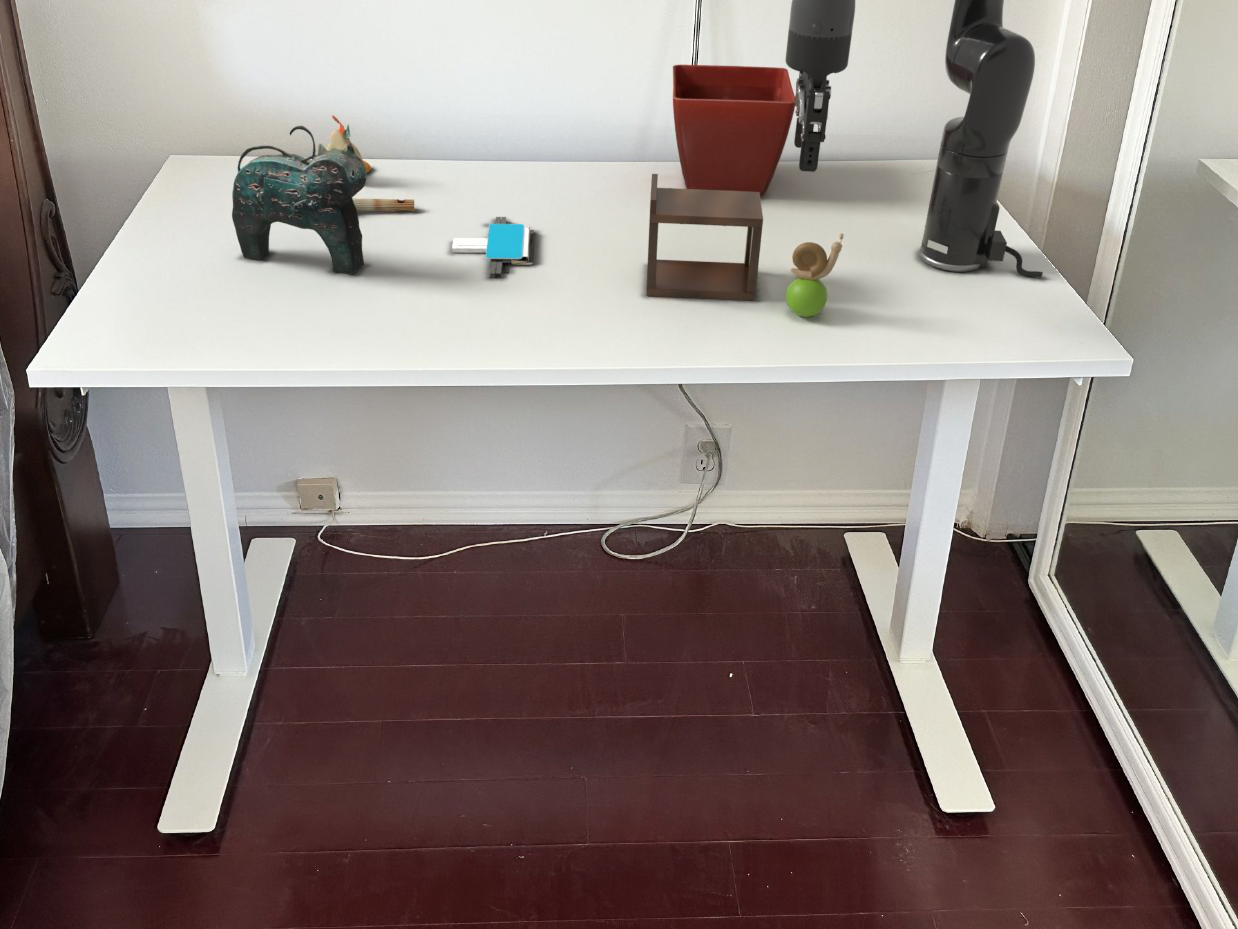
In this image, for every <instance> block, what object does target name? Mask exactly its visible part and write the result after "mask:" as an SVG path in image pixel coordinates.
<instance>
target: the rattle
mask: <svg viewBox="0 0 1238 929" xmlns="http://www.w3.org/2000/svg"><path fill="white" fill-rule="evenodd" d="M331 118H332V119H333V121H335V123H337V124H339V128H337V129H335V130H334V131H332V132H331V134H330V142H329V143H328V145H327V146H326V148H325V149H326V150H327V151H333V150H343V149H344V148H345V147H346V146H347V145H348V144H349V143H351V145H352V146H353V148H354V151H355V153H356V155H357V156H358V157H359V158H360V159H361V160H362V161H363V163H364V165H365V167H366V174H367V173H369V172H370V171H371V170H372V166H371V165H370V163H369V162H367V161H366V160H363V157H362V154H361V152H360V151H359V149H358V148H357V147H356V145H355V144H353V143H352V141H351V139H350V138H351V130H350V125H349V123H346V129H345V126H344V125H343V124H342V122H340V120H338V118H337V116H335V115H331Z"/></svg>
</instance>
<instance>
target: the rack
mask: <svg viewBox="0 0 1238 929" xmlns="http://www.w3.org/2000/svg"><path fill="white" fill-rule="evenodd" d="M658 176H659V174H658V173H651V186H650V198H649V199H650V200H649V202H650V203H649V220H648V221H649V222H648V224H649V226H648V242H647V243H648V246H647V266H646V267H647V271H646V272H647V274H646V289H645V290H646V293H645V295H646V297H662V298H683V299H684V298H685V299H687V298H688V299H710V300H731V301H752V302H753V301H756V293H757V284H758V274H759V263H760V255H761V254H760V253H761V244H762V236H763V225H764V216H763V208H762V201H761V196H760V193H759V192H748V191H724V190H700V189H686V188H674V187H658V179H659V178H658ZM659 224H673V225H694V226H695V225H696V226H697V225H698V226H719V227H720V226H721V227H743V228H744V227H745V228H747V229H746V238H745V249H744V261H743V262H724V261H721V262H720V261H702V260H701V261H700V260H681V259H679V260H677V259H658V242H659V241H658V238H659Z"/></svg>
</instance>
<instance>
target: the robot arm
mask: <svg viewBox="0 0 1238 929" xmlns="http://www.w3.org/2000/svg"><path fill="white" fill-rule="evenodd" d="M1004 4H1005V0H954V3H953V8H952V13H951V14H952V15H951V19H950V24H949V29H948V35H947V41H946V47H945V56H944V65H945V66H944V67H945V71H946V75H947V78H948V80H949V81H950V82H951V83H952V84H953V85H954V86H955V87H956V88H958V89H959V90H961V91H963V92H965V93H967V94H969V99H968V102H967V106H966V109H965V113H964V116H959V117H953V118H951V119H950V120H948V121H946V123H945V124H944V127H943V131H942V134H941V140H940V145H939V150H938V154H937V155H938V156H937V161H936V165H935V170H934V171H935V172H934V177H933V182H932V188H931V193H930V199H929V204H928V207H927V208H928V209H927V213H926V214H927V215H926V220H925V224H924V229H923V234H922V235H923V236H922V239H921V245H920V248H919V254H918V255H919V258H920V260H921V261H922V262H923V263H925V264H927V265H929V266H931V267H934V268H936V269H938V270H939V269H940V270H943V271H949V272H958V273H959V272H961V273H962V272H972V271H975V270H978V269H987V267H988V262H1003V261H1004V258H1005V254H1006V253H1008V254H1009V255H1012V256H1013V257H1014V259H1015V260H1016V263H1015V269H1016V271H1017V273H1018V274H1019V275H1021V276H1023V277H1027V278H1043V274H1044V272H1043V271H1039V270H1037V271H1036V270H1035V271H1033V270H1026V269H1024V268H1023V257H1022V255H1021V254H1020V253H1019V251H1017V250H1016V249H1014V248H1013V247H1010V246H1009V245H1008V242H1007V240H1006V238H1005V236H1004V235H1003V233H1002V231H1001V230H996V226H997V223H998V217H999V214H1000V210H1001V209H1000V208H1001V207H1000V205H999V204H998V198H999V193H1000V188H1001V183H1002V179H1003V174H1004V172H1005V171H1004V170H1005V165H1006V160H1007V156H1008V153H1009V152H1008V151H1009V148H1010V144H1011V141H1012V139H1013V138H1014V136H1015V135H1016V133H1017V131H1018V130H1019V127H1020V125H1021V122H1022V119H1023V115H1024V111H1025V108H1026V105H1027V102H1028V98H1029V94H1030V90H1031V87H1032V84H1033V83H1032V82H1033V78H1034V74H1035V68H1036V54H1035V48H1034V46H1033V45H1032V43H1031V41H1030V40H1028V39H1027V38H1026V37H1024V36H1022V35H1021V34H1018V33H1017V32H1014V31H1012V30H1009V29H1007V28H1006V27H1004V24H1003V23H1004V22H1003V18H1004V17H1003V16H1004ZM855 15H856V0H791V5H790V13H789V24H788V32H787V42H786V51H785V64H786V65H787V67H788V68H790V69H792V70H794V71H796V72H798V73H799V74H798V78H796V82H795V94H794V95H795V110H794V114H795V116H796V121H795V122H796V124H795V130H794V131H795V132H794V141H793V143H794V146H795V147H796V148H798V149H800V154H799V162H798V168H799V170H800V171H801V172H809V173H810V172H811V173H815V172H816V171H817V170H818V164H819V157H820V151H821V150H820V149H821V143H825V140H826V137H827V136H826V130H827V121H828V120H829V104H830V100H831V98H832V85H830V79H828V76H829V75H831V74H839V73H841V72H843V71H845V70H846V69H847V67H848V65H849V59H850V51H851V44H852V36H853V29H854V21H855ZM815 125H817V131H815V130H814V127H815Z"/></svg>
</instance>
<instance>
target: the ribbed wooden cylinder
mask: <svg viewBox="0 0 1238 929" xmlns="http://www.w3.org/2000/svg"><path fill="white" fill-rule="evenodd" d="M352 199H353V202H354V204H355V206H356V209H357V211H375V212H377V211H379V212H381V211H384V212H385V211H386V212H399V211H403V212H415V199H403V200H402V199H399V198H398V199H395V198H365V197H364V198H359V197H357V198H356V197H352Z"/></svg>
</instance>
